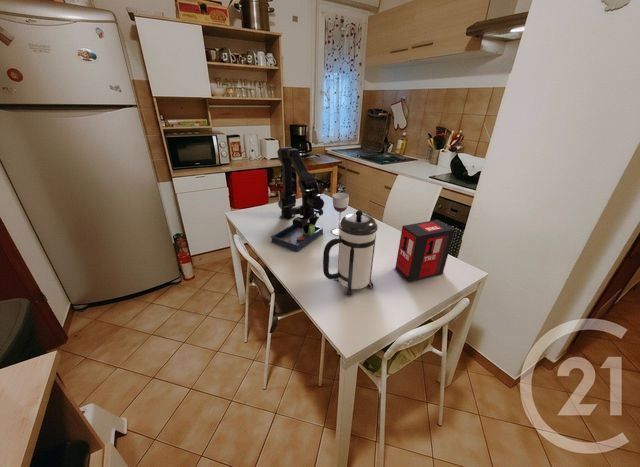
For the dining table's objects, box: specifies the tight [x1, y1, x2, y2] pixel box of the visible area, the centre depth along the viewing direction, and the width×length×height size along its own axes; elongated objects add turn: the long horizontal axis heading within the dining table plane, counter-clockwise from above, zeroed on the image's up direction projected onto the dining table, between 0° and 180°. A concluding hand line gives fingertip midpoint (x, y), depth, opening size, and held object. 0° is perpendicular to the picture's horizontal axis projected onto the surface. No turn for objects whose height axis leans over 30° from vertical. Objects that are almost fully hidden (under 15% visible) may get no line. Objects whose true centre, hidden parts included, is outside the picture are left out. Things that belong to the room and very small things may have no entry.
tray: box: [271, 223, 324, 253], centre depth 130 cm, size 22×16×3 cm
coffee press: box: [322, 209, 379, 296], centre depth 92 cm, size 17×16×30 cm
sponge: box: [302, 224, 316, 236], centre depth 133 cm, size 4×5×4 cm
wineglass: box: [331, 192, 350, 236], centre depth 132 cm, size 8×9×20 cm
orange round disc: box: [297, 236, 305, 241], centre depth 128 cm, size 4×4×1 cm
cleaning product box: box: [394, 219, 456, 283], centre depth 102 cm, size 16×9×20 cm, turn 110°
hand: (308, 231), depth 133 cm, fingers closed on sponge, 4 cm apart
